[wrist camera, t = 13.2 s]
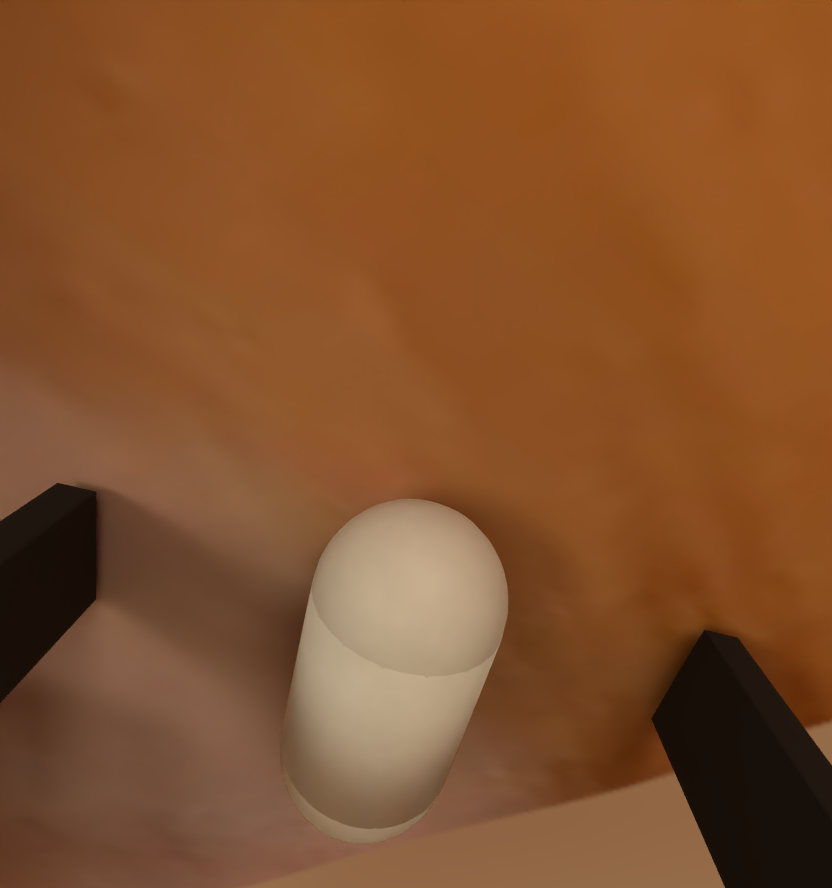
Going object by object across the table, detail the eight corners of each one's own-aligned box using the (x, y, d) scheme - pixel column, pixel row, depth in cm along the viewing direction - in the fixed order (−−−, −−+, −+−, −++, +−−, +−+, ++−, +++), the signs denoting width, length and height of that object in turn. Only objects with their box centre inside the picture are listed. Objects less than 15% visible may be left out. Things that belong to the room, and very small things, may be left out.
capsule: (429, 735, 13) (427, 901, 10) (292, 707, 12) (245, 867, 9) (518, 489, 10) (557, 607, 7) (347, 449, 10) (307, 551, 7)
